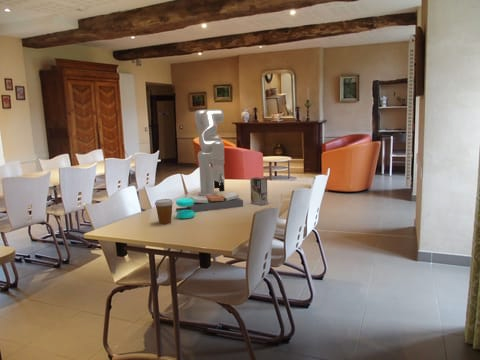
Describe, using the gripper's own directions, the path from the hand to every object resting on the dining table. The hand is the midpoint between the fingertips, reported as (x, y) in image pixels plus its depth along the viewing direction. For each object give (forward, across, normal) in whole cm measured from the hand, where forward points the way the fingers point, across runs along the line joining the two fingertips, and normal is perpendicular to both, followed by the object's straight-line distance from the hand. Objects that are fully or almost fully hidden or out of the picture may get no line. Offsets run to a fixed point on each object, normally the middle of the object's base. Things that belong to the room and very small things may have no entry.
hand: (219, 189), depth 245 cm
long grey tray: (+10, +1, -7) cm, 13 cm away
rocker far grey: (+6, +1, +7) cm, 9 cm away
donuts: (+10, +16, -25) cm, 32 cm away
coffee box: (+11, +5, +25) cm, 27 cm away
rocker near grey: (+6, +1, -13) cm, 15 cm away
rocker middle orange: (+6, +1, -3) cm, 7 cm away
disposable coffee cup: (+10, +23, -38) cm, 46 cm away
